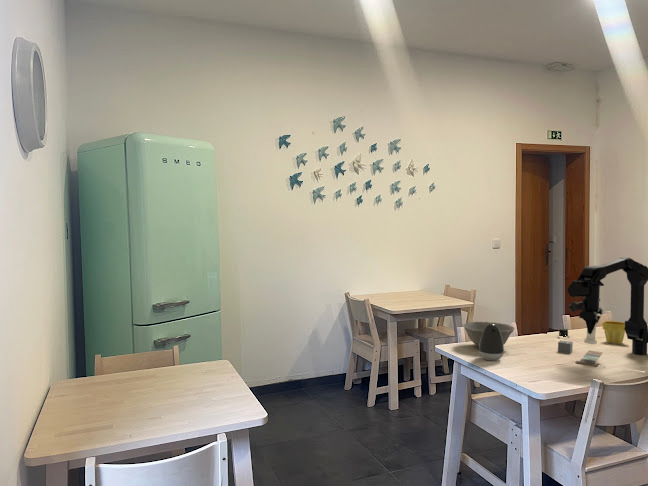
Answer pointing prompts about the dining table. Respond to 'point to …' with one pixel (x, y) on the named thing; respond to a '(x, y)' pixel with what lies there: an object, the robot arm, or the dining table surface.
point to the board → (590, 358)
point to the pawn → (591, 337)
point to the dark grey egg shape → (491, 343)
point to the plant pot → (614, 331)
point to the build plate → (563, 332)
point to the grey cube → (565, 346)
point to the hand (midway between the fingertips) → (590, 333)
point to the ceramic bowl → (477, 328)
